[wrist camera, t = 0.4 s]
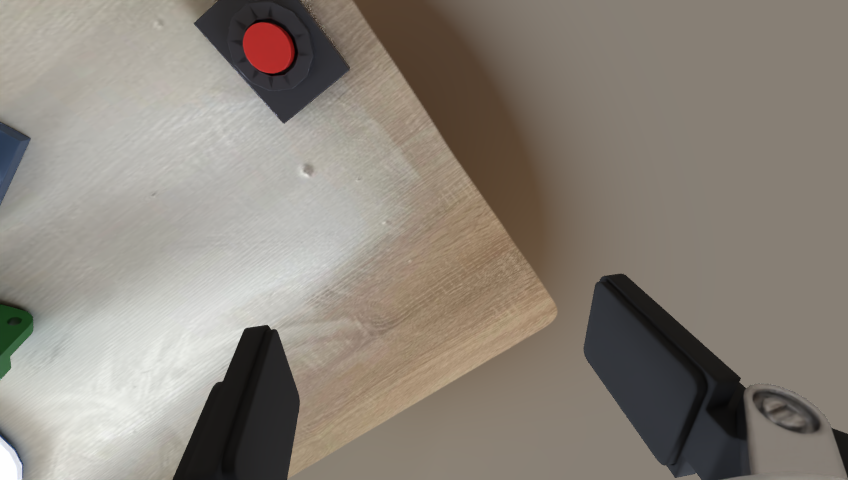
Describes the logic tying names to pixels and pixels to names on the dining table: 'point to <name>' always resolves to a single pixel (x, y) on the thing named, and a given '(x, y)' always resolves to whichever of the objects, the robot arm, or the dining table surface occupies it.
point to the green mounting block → (12, 333)
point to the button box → (314, 52)
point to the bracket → (10, 155)
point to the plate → (9, 462)
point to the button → (268, 47)
